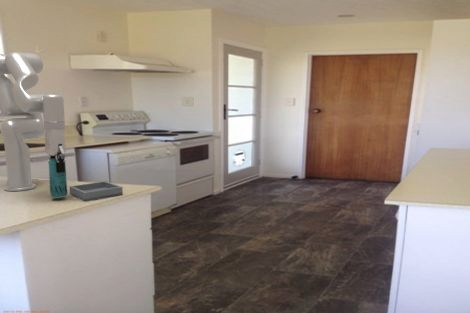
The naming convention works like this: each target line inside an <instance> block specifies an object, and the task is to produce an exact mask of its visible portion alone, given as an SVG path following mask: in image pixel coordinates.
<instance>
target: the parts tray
mask: <svg viewBox="0 0 470 313" xmlns="http://www.w3.org/2000/svg"><path fill="white" fill-rule="evenodd" d="M69 195H70V196H72V197H75V198H77V199H79V200H81V201H83V202H89V201H90V202H91V201H96V200H102V199H107V198H108V199H109V198H112V197H113V198H114V197H118V196H123V186H121V185H118V184H115V183H112V182H109V181H107V180H103V181H99V182H92V183H84V184H83V183H82V184H76V185H70V186H69Z"/></svg>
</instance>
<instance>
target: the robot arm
mask: <svg viewBox="0 0 470 313" xmlns="http://www.w3.org/2000/svg"><path fill="white" fill-rule="evenodd" d="M43 68H44V63H43V60H42V58H41V57H40V55H38V54H36V53H32V52H24V51H23V52H20V51H12V52H11V51H10V52H9V53H7V54H6V53H5V54H2V53H0V114H1V115H2V116H4V117H13V118H7V119H5V120H3V121H2V122H1V123H0V133H1V137H2V141H3V144H4V146H3V147H4V154H5V155H4V156H5V164H6V165H5V166H6V177H7V185H5V186H4V187H3V188H4V191H6V192H20V191H28V190H32V189H34V188H36V187H37V184H36V183H33V180H32V166H31V154H30V147H29V146H28V144H27V143H25V140H29V139H31V140H32V139H33V140H34V139H39V138H41V137H43V136H44V135H45V136H44V146H45V147H44V151H45V154H47V155H48V162H49V161H50V160H51V159H52V158H56V161H57V163H56V172H57V173H60V172H65V165H66V162H65V161H66V160H65V158H66V157H65V156H66V154H67V153H66V152H67V151H66V138H65V133H64V130H66V121H65V119H66V118H65V106H64V105H65V104H64V97H63V95H61V94H49V93H27V92H26V91H27V90H29V89H33V87H35V86H36V85H37V84H39V80H40V78H39V75H38V74H40V73H41V72H42V71H43ZM6 75H12V77H13V79H14V80H15V83H14V82H13V81H12V80H11V79H10V78H9V77H7V76H6ZM42 114H43V115H42ZM42 116H43V117H42ZM58 153H60V154H58ZM51 155H52V156H51ZM58 158H59V159H58Z"/></svg>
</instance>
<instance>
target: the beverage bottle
mask: <svg viewBox="0 0 470 313" xmlns="http://www.w3.org/2000/svg"><path fill="white" fill-rule="evenodd" d="M58 154H60V153H58ZM51 156H52V155H51ZM58 159H59V157H58ZM56 163H57V161H56V158H52V159H51V160H50V161H49V160H48V174H49V180H48V181H49V186H48V187H49V194H50V197H51V198H62V197H63V198H64V197H66V196H67V195H68V183H67V168H66V167H67V166H66V165H67V164H65V172H60V173H57V172H56ZM65 163H66V160H65Z"/></svg>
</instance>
